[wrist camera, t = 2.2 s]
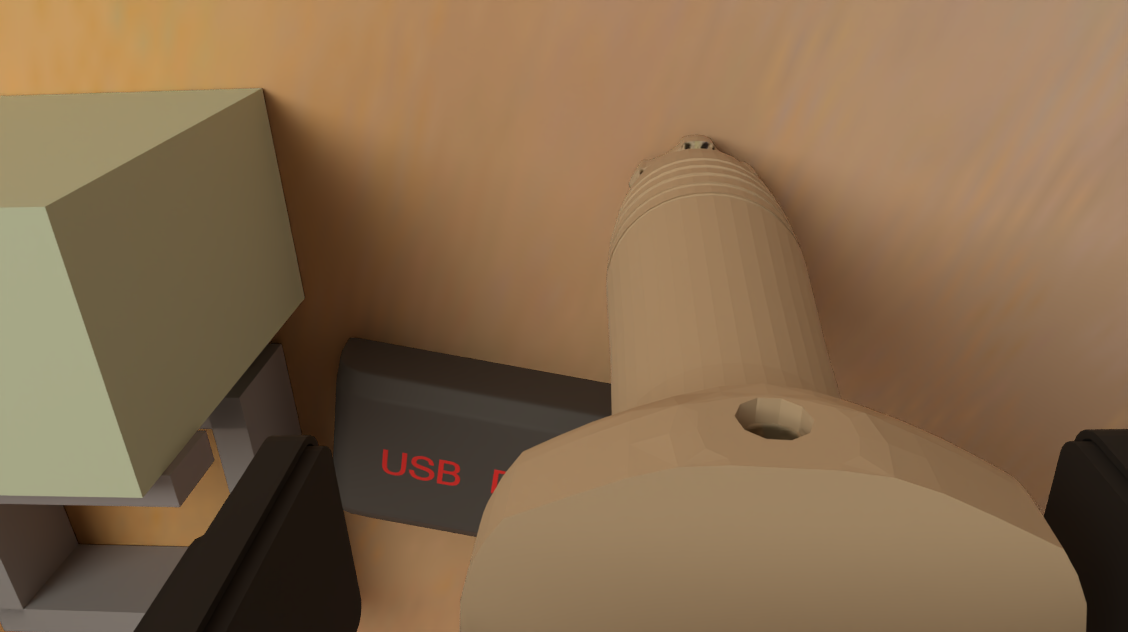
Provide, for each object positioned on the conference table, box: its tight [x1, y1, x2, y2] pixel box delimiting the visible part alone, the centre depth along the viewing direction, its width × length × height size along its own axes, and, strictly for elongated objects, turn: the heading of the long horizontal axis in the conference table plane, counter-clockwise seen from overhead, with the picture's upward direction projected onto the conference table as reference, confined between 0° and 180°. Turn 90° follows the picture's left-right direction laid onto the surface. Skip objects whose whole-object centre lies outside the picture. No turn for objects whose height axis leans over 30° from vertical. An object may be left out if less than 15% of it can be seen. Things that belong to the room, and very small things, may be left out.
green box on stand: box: [0, 88, 305, 632], centre depth 22 cm, size 12×16×9 cm
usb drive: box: [333, 338, 612, 537], centre depth 26 cm, size 5×12×3 cm, turn 81°
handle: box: [460, 135, 1087, 632], centre depth 16 cm, size 5×6×15 cm
